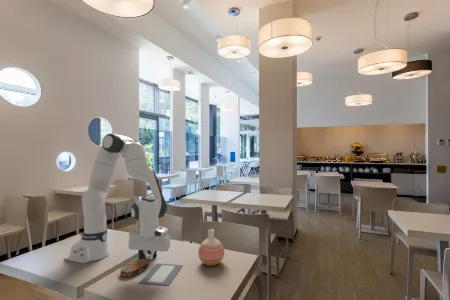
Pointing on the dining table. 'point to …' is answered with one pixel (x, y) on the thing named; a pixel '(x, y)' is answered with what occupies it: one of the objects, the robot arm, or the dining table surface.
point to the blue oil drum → (142, 255)
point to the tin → (134, 267)
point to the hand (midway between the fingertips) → (149, 258)
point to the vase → (211, 250)
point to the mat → (161, 274)
